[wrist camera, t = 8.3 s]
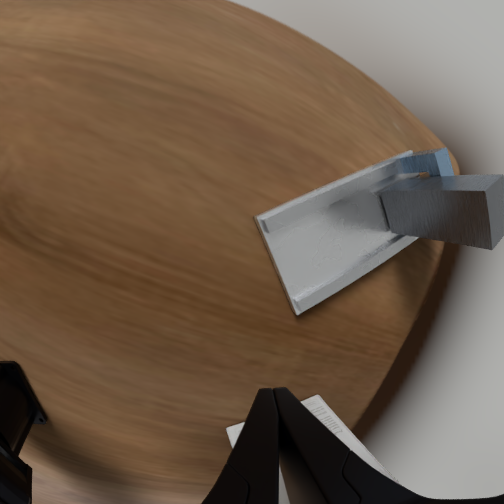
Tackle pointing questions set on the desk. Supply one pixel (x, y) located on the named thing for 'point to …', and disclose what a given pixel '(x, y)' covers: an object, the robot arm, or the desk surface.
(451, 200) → the tall gray pillar
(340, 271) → the blue gray railed fixture
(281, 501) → the supplement box
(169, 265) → the desk surface
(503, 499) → the robot arm
